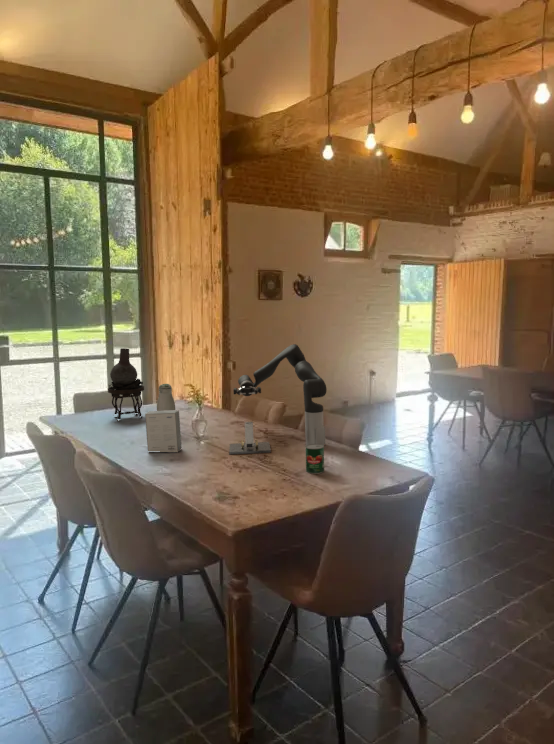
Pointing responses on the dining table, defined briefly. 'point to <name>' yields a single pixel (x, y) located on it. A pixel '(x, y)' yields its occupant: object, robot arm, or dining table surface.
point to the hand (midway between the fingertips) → (247, 392)
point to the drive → (249, 435)
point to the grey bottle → (165, 398)
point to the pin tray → (241, 448)
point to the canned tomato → (314, 458)
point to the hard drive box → (163, 431)
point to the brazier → (125, 383)
